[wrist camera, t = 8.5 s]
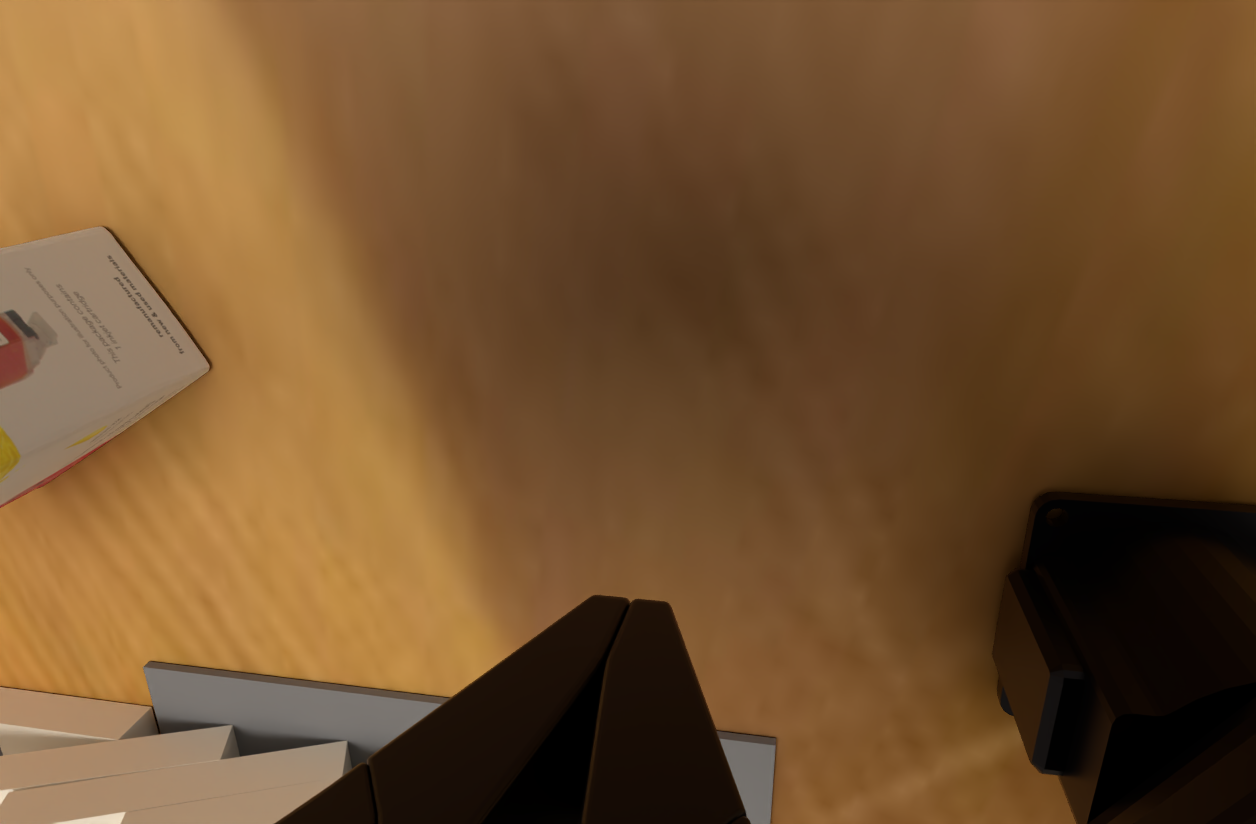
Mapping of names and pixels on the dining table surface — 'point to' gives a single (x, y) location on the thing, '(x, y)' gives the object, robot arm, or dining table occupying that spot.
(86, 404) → the ink box
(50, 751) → the tile
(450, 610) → the dining table surface
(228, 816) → the tile
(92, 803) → the tile
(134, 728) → the tile
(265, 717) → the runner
